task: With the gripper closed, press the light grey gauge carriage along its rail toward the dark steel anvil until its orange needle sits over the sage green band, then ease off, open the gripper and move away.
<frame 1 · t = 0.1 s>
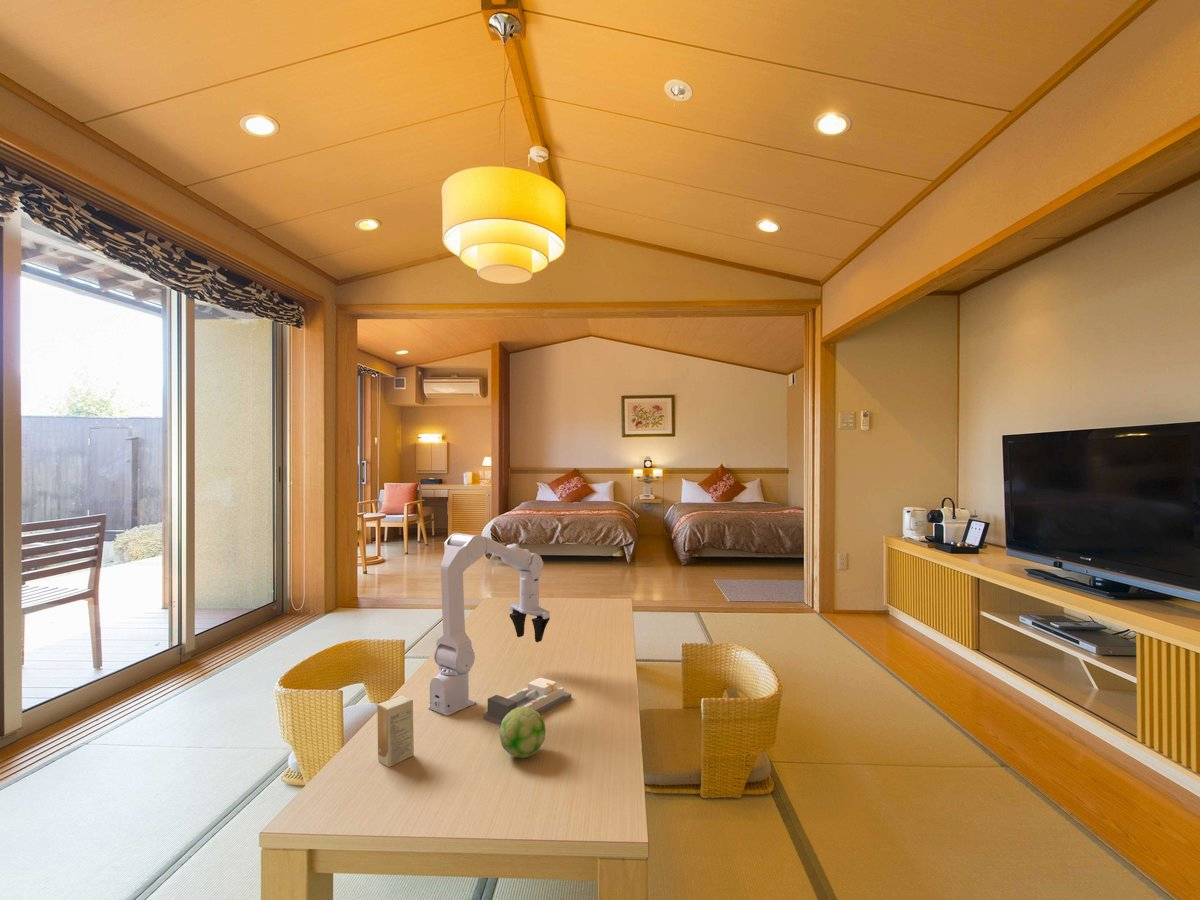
hand: (529, 638, 173), 10 cm above the table, tool pointing down, fingers open, 7 cm apart
gauge carriage: (540, 691, 151), point 3 cm above the table, slide at 0.0 cm
decorative ball: (522, 756, 125), on the table
skincare box: (395, 759, 124), on the table
gauge base: (529, 708, 148), on the table
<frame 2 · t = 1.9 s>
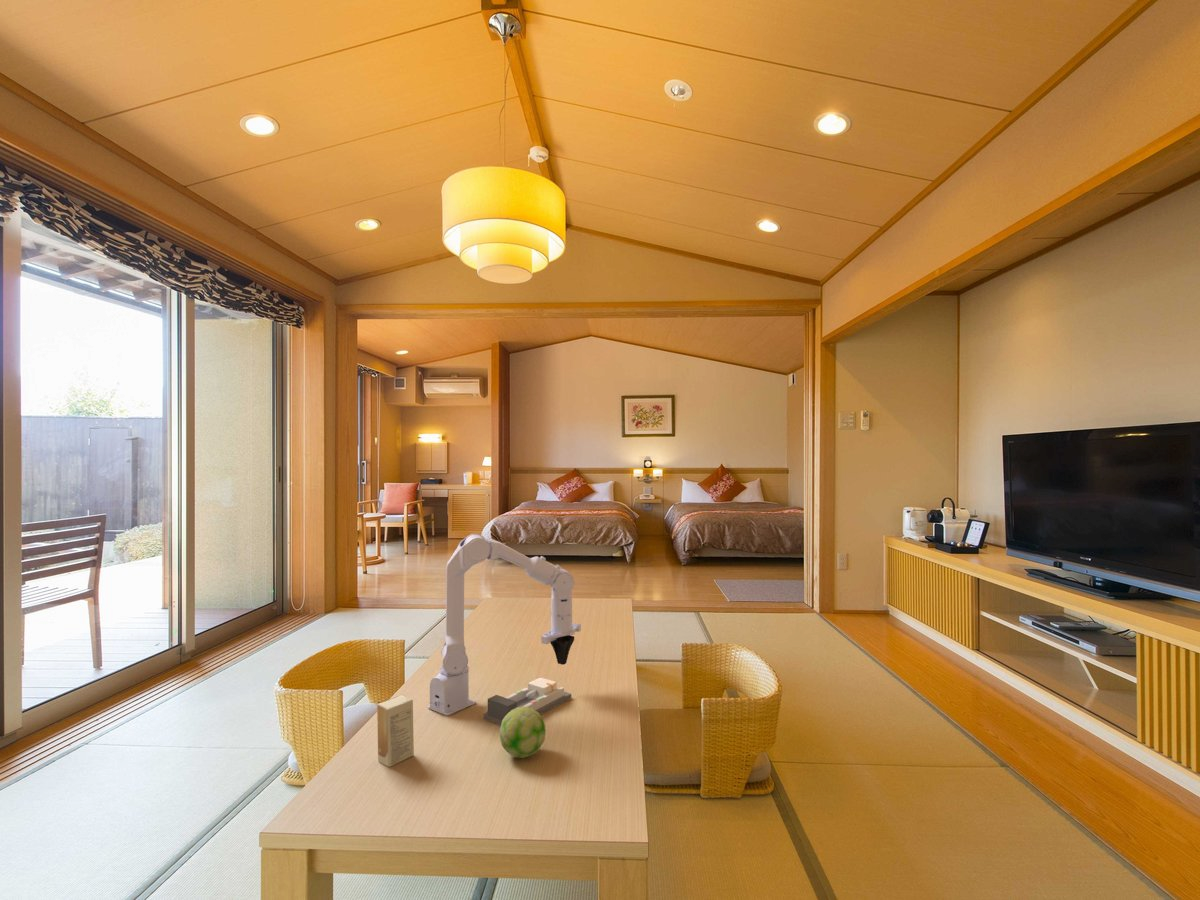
hand: (561, 663, 159), 8 cm above the table, tool pointing down, fingers closed
nothing on the table moved.
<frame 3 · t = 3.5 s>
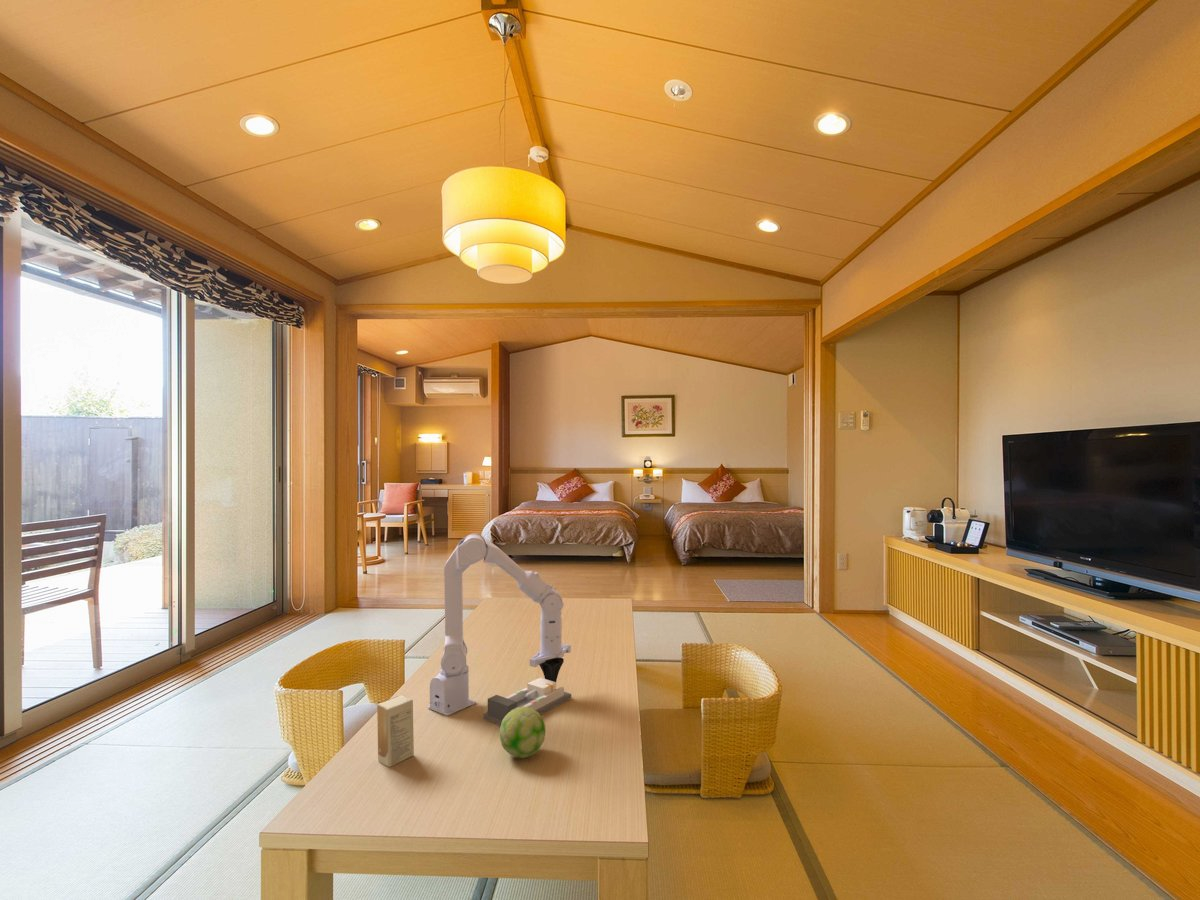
hand: (550, 686, 155), 3 cm above the table, tool pointing down, fingers closed
gauge carriage: (540, 691, 151), point 3 cm above the table, slide at 0.2 cm, touching gripper
everything else where it was.
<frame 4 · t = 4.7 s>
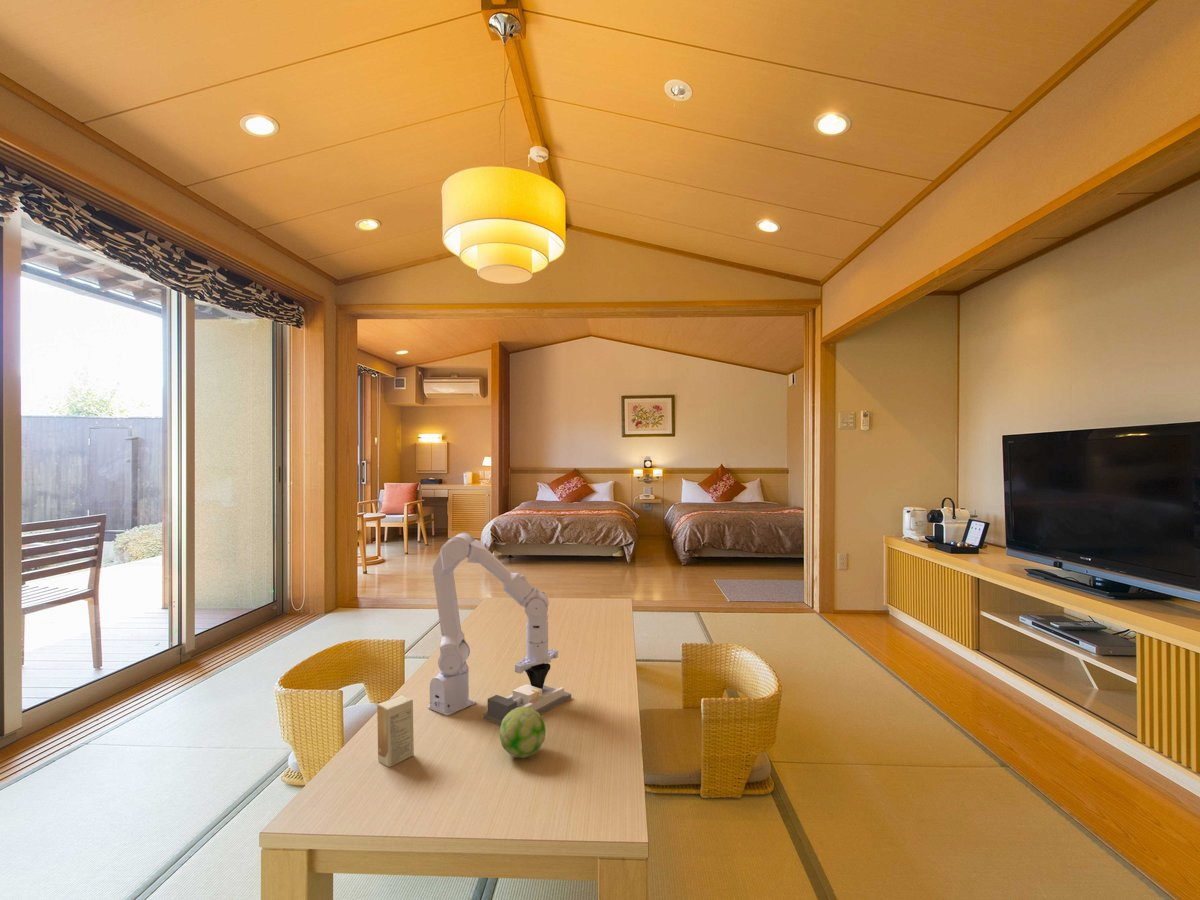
hand: (537, 692, 151), 3 cm above the table, tool pointing down, fingers closed
gauge carriage: (525, 698, 146), point 3 cm above the table, slide at 5.6 cm, touching gripper
everything else where it was.
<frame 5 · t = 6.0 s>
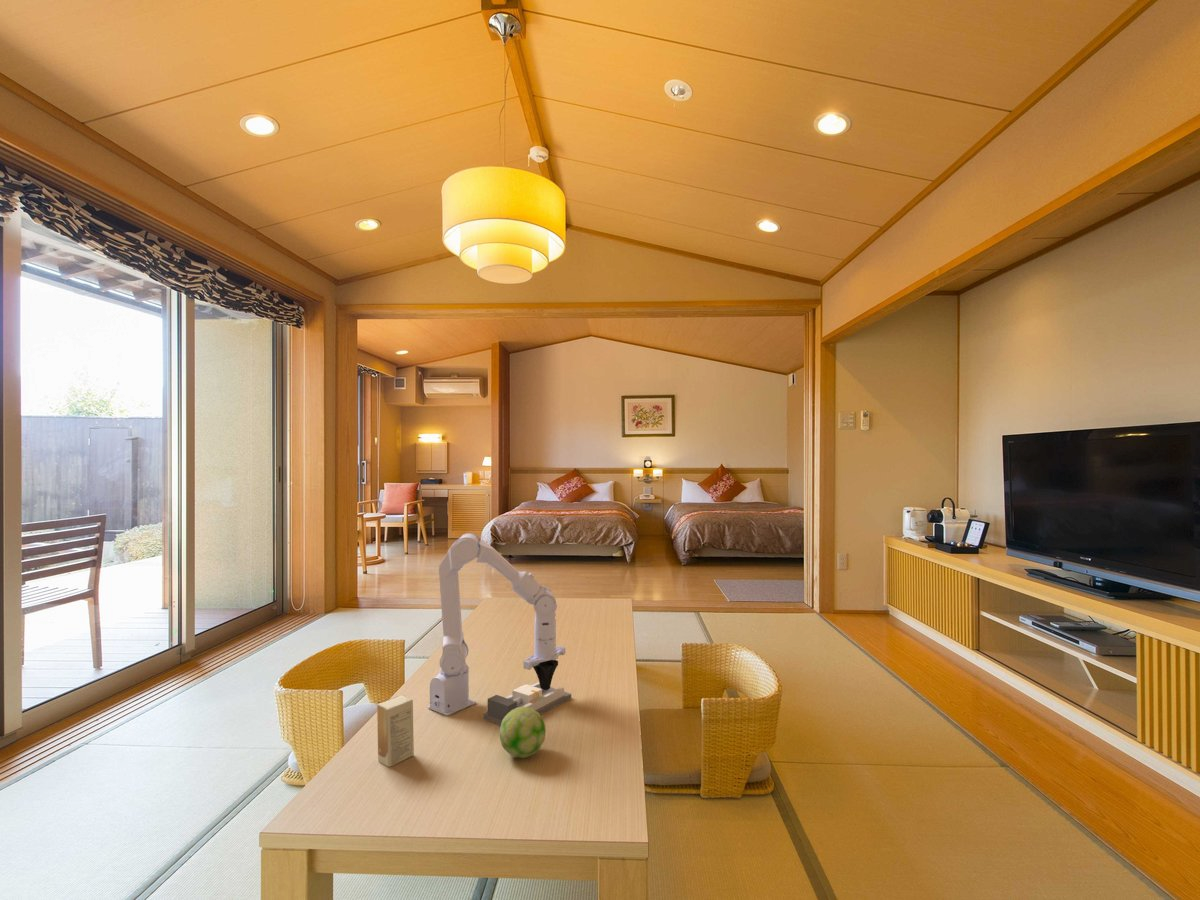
hand: (545, 688, 153), 3 cm above the table, tool pointing down, fingers closed
gauge carriage: (525, 698, 146), point 3 cm above the table, slide at 5.7 cm
everything else where it was.
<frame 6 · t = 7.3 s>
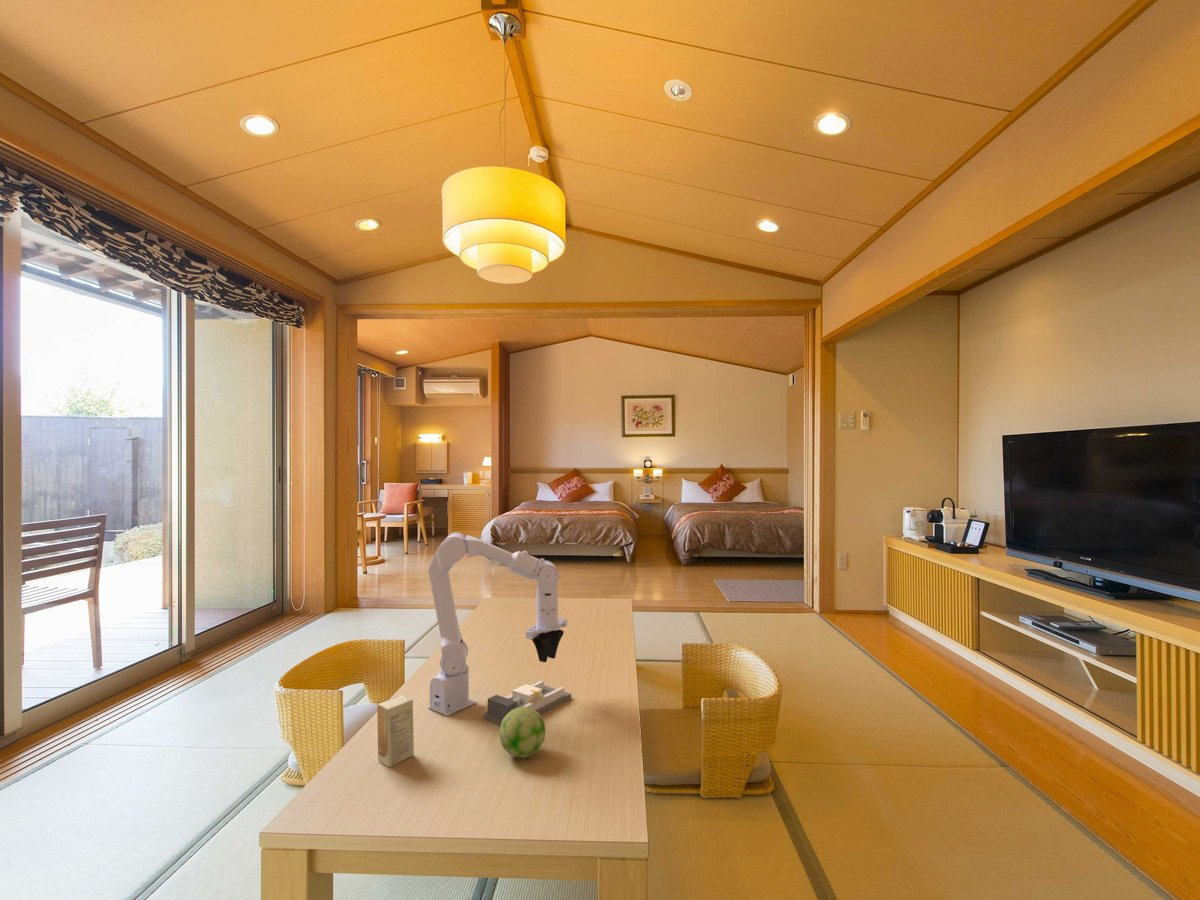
hand: (547, 659, 154), 10 cm above the table, tool pointing down, fingers open, 3 cm apart
nothing on the table moved.
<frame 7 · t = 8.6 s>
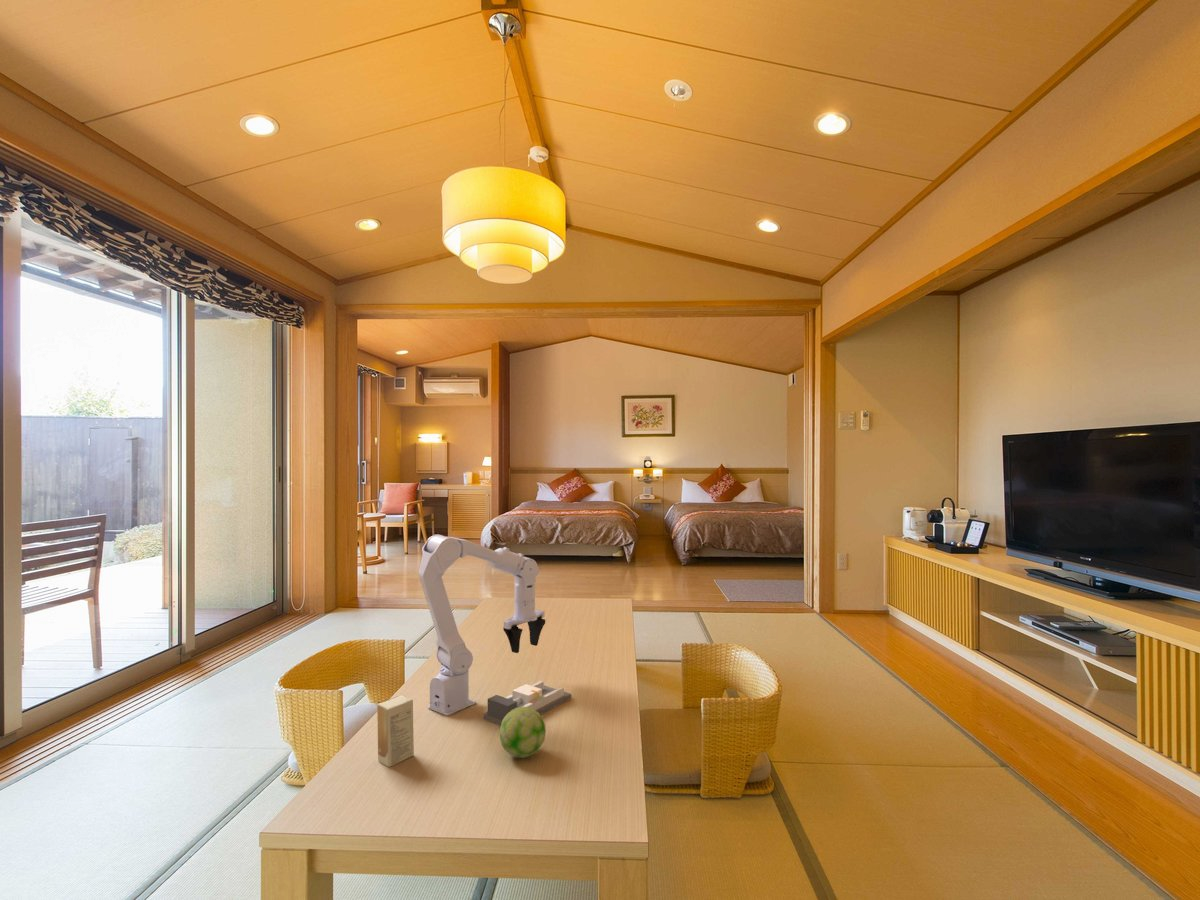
hand: (524, 648, 163), 10 cm above the table, tool pointing down, fingers open, 7 cm apart
nothing on the table moved.
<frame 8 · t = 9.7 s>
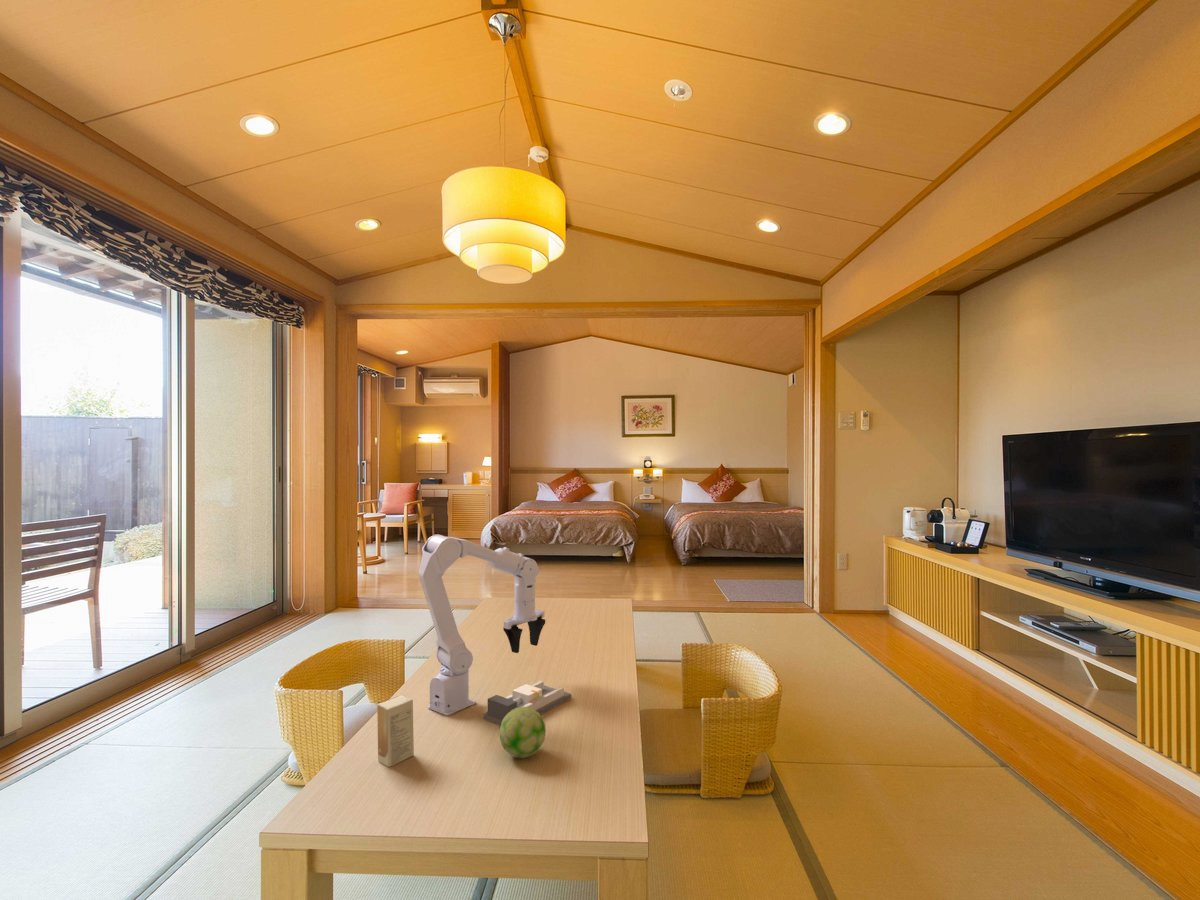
hand: (524, 648, 163), 10 cm above the table, tool pointing down, fingers open, 7 cm apart
nothing on the table moved.
at the end: gauge carriage slide at 5.7 cm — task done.
